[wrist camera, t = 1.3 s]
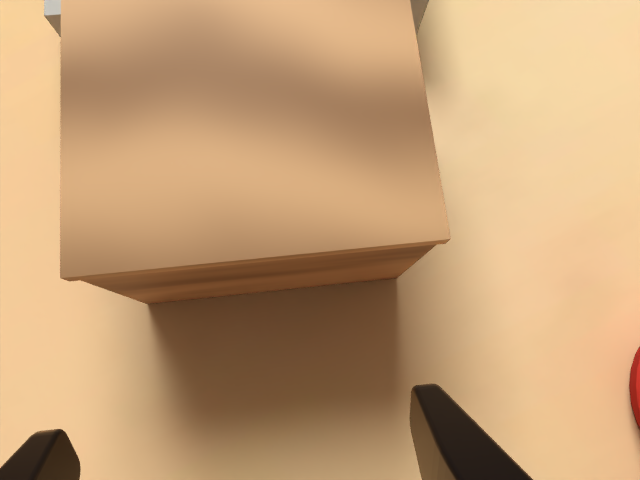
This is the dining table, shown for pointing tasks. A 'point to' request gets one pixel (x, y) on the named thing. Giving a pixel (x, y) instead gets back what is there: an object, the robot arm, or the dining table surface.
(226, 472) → the dining table surface
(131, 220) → the tea box
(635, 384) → the canned food
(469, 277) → the dining table surface
